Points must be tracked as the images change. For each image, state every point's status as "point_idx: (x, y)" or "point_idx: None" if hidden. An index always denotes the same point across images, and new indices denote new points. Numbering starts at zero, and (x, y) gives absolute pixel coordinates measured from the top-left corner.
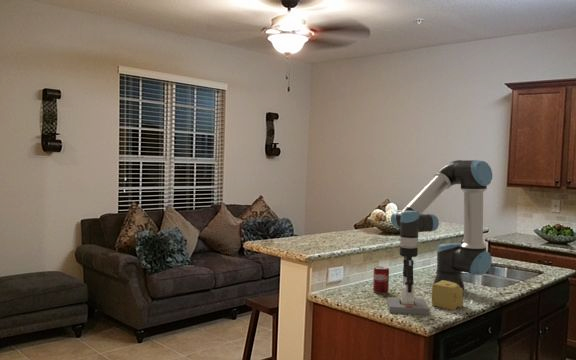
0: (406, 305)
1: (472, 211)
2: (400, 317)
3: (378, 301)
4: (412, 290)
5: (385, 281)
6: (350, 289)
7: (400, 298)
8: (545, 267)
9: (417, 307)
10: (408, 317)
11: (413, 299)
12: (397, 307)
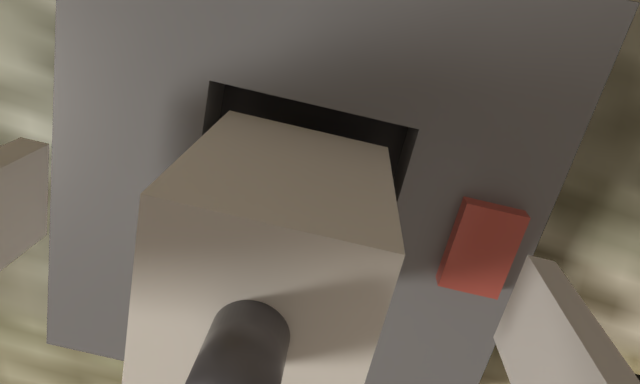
0: (489, 283)
1: None
2: (617, 343)
3: (55, 370)
4: (624, 368)
5: None
6: None
7: (94, 220)
8: None
9: (532, 146)
10: (637, 271)
11: (391, 177)
12: (483, 368)
